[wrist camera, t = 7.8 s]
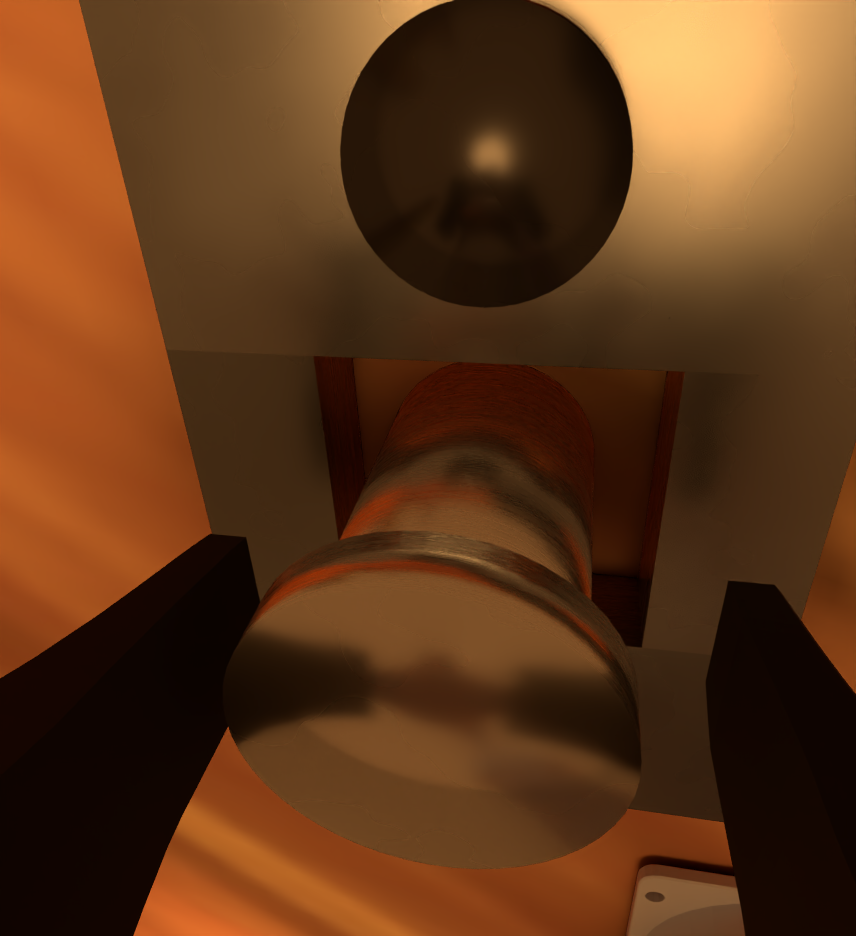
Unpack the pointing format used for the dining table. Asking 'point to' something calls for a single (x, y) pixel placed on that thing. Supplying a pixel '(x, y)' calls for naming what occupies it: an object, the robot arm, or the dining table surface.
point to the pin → (451, 642)
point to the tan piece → (511, 265)
